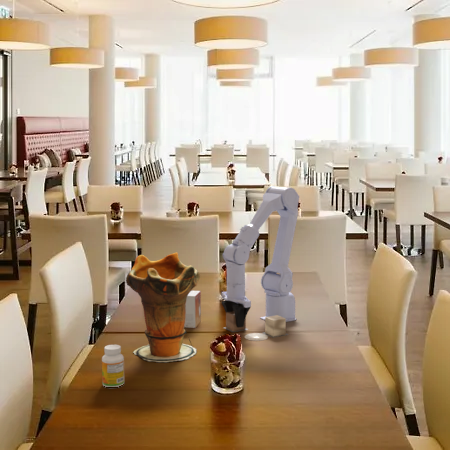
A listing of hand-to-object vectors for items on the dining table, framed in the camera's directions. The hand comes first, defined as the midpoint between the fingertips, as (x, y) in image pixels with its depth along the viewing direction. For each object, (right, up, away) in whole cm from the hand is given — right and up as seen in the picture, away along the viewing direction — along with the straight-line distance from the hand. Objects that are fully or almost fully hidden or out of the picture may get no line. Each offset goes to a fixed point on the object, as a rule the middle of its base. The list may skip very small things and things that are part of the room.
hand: (235, 324), depth 219 cm
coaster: (+6, -3, -9) cm, 11 cm away
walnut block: (0, -1, 0) cm, 1 cm away
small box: (-15, -1, +5) cm, 16 cm away
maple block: (+12, -2, -5) cm, 13 cm away
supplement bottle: (-31, -8, -47) cm, 57 cm away
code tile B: (+12, -2, -5) cm, 13 cm away
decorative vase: (-20, -5, -22) cm, 30 cm away
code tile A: (0, -1, 0) cm, 1 cm away
